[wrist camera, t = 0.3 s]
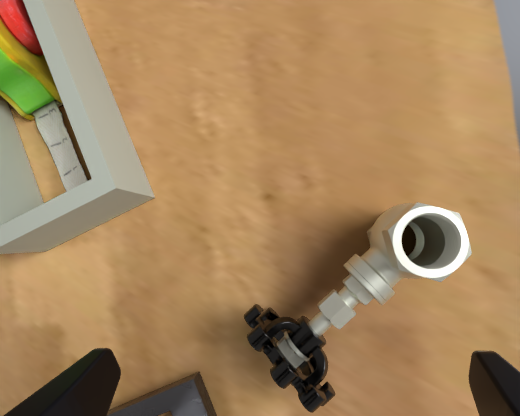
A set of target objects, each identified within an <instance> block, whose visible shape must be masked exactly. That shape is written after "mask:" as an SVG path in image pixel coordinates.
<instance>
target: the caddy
mask: <svg viewBox="0 0 520 416" xmlns="http://www.w3.org/2000/svg"><path fill="white" fill-rule="evenodd" d="M23 2H24V4H25V7H26V9H27V12H28V14H29V17H30V20H31V22H32V25H33V27H34V30H35V33H36V35H37V38H38V40H39V43H40V46H41V48H42V51H43V53H44V56H45V59H46V61H47V64H48V66H49V69H50V72H51V74H52V77H53V79H54V82H55V85H56V87H57V90H58V92H59V95H60V97H61V100H62V103H63V105H64V108H65V110H66V113H67V116H68V118H69V121H70V123H71V126H72V129H73V131H74V134H75V136H76V139H77V142H78V144H79V147H80V149H81V152H82V155H83V157H84V160H85V162H86V165H87V168H88V170H89V173H90V175H91V178H92V179H91V180H89V181H87V182H85V183H83V184H81V185H79V186H77V187H75V188H73V189H71V190H69V191H67V192H65V193H63V194H61V195H59V196H57V197H55V198H53V199H51V200H50V201H48V202H46V203H44V202H43V199H42V196H41V194H40V191H39V188H38V185H37V182H36V180H35V177H34V174H33V171H32V169H31V166H30V163H29V160H28V157H27V155H26V152H25V149H24V146H23V144H22V141H21V138H20V135H19V132H18V130H17V127H16V124H15V121H14V118H13V116H12V113H11V110H10V107H9V105H8V102H7V101H6V100H5V99H4V98H3V97H2V96H1V95H0V254H13V253H30V252H46V251H48V250H50V249H52V248H54V247H56V246H58V245H60V244H62V243H64V242H66V241H68V240H70V239H72V238H74V237H76V236H78V235H80V234H82V233H84V232H86V231H88V230H90V229H92V228H94V227H96V226H99V225H101V224H103V223H105V222H107V221H109V220H111V219H113V218H115V217H117V216H119V215H121V214H123V213H125V212H127V211H129V210H131V209H133V208H135V207H137V206H139V205H141V204H143V203H145V202H147V201H149V200H151V199H153V198H155V196H154V194H153V191H152V189H151V187H150V184H149V182H148V179H147V177H146V174H145V172H144V170H143V167H142V165H141V162H140V160H139V157H138V155H137V152H136V150H135V148H134V145H133V143H132V140H131V138H130V135H129V133H128V131H127V128H126V126H125V123H124V121H123V118H122V116H121V114H120V111H119V109H118V106H117V104H116V101H115V99H114V96H113V94H112V92H111V89H110V87H109V84H108V82H107V79H106V77H105V75H104V72H103V70H102V67H101V65H100V62H99V60H98V58H97V55H96V53H95V50H94V48H93V45H92V43H91V40H90V38H89V36H88V33H87V31H86V28H85V26H84V23H83V21H82V19H81V16H80V14H79V11H78V9H77V6H76V4H75V2H74V0H23Z"/></svg>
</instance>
